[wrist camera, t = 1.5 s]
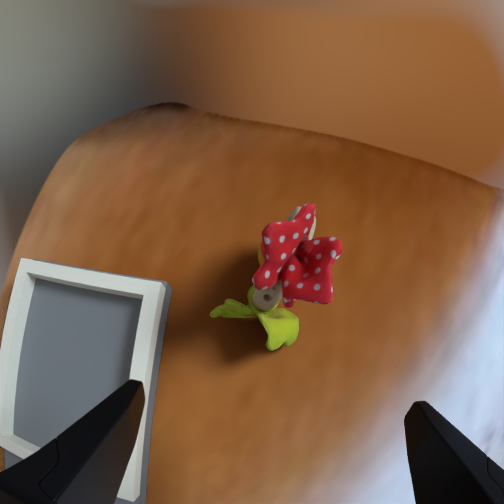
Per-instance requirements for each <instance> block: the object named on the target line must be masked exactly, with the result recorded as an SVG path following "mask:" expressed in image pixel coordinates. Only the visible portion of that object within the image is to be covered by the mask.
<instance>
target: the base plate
mask: <svg viewBox="0 0 504 504" xmlns="http://www.w3.org/2000/svg"><path fill="white" fill-rule="evenodd" d="M171 294H172V288H171V287H170V285H169V284H168V282H166V281H159V280H153V279H146V278H140V277H134V276H127V275H121V274H115V273H109V272H103V271H97V270H91V269H86V268H80V267H74V266H69V265H63V264H58V263H53V262H47V261H42V260H37V259H33V260H30V259H25V258H21V261H20V264H19V268H18V271H17V275H16V278H15V282H14V286H13V290H12V294H11V298H10V302H9V307H8V311H7V316H6V321H5V326H4V331H3V337H2V342H1V349H0V446H1V447H3V448H4V451H5V469H7V468H9V467H11V466H13V465H14V464H16V463H18V462H20V461H21V460H23V459H25V458H27V457H28V456H30V455H31V454H33V453H35V452H36V451H38V450H39V449H40V448H42V447H43V446H45V445H46V444H47V443H49V442H50V441H51V440H53V439H54V438H56V437H57V436H58V435H59V434H61V433H62V432H63V431H64V430H66V429H67V428H68V427H70V426H71V425H72V424H73V423H75V422H76V421H77V420H79V419H80V418H81V417H82V416H84V415H85V414H86V413H87V412H89V411H90V410H91V409H92V408H94V407H95V406H96V405H98V404H99V403H100V402H101V401H103V400H104V399H105V398H106V397H108V396H109V395H110V394H111V393H113V392H114V391H115V390H116V389H118V388H119V387H120V386H121V385H123V384H124V383H125V382H126V381H128V380H129V379H134V380H139V381H142V383H143V386H144V392H145V406H144V410H143V414H142V418H141V422H140V427H139V431H138V436H137V440H136V444H135V447H134V449H133V452H132V455H131V458H130V460H129V463H128V466H127V469H126V472H125V474H124V477H123V480H122V483H121V486H120V488H119V491H118V494H117V497H116V500H115V503H114V504H146V491H147V476H148V463H149V452H150V441H151V431H152V422H153V413H154V405H155V396H156V389H157V381H158V374H159V367H160V360H161V353H162V347H163V340H164V334H165V328H166V322H167V316H168V310H169V305H170V299H171Z"/></svg>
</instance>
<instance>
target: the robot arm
mask: <svg viewBox="0 0 504 504" xmlns="http://www.w3.org/2000/svg"><path fill="white" fill-rule="evenodd" d="M144 406H145V392H144V386H143V383H142V381H139V380H134V379H129V380H128V381H126V382H125V383H124V384H123V385H121V386H120V387H119V388H118V389H116V390H115V391H114V392H113V393H111V394H110V395H109V396H108V397H106V398H105V399H104V400H103V401H101V402H100V403H99V404H98V405H96V406H95V407H94V408H92V409H91V410H90V411H89V412H87V413H86V414H85V415H84V416H82V417H81V418H80V419H79V420H77V421H76V422H75V423H73V424H72V425H71V426H70V427H68V428H67V429H66V430H64V431H63V432H62V433H61V434H59V435H58V436H57V437H56V438H54V439H53V440H51V441H50V442H49V443H47V444H46V445H45V446H43V447H42V448H40V449H39V450H38V451H36V452H35V453H33V454H31V455H30V456H28V457H27V458H25V459H23V460H21V461H20V462H18V463H16V464H14V465H13V466H11V467H9V468H7V469H5V470H3V471H2V472H0V504H114V503H115V500H116V497H117V494H118V491H119V488H120V486H121V483H122V480H123V477H124V474H125V472H126V469H127V466H128V463H129V460H130V458H131V455H132V452H133V449H134V447H135V444H136V440H137V436H138V431H139V427H140V422H141V418H142V414H143V410H144ZM404 426H405V435H406V446H407V456H408V462H409V467H410V473H411V478H412V484H413V490H414V496H415V502H416V504H504V470H503V469H502V468H501V467H500V466H498V465H497V464H496V463H495V462H494V461H493V460H492V459H490V458H489V457H487V455H486V454H485V453H484V452H483V451H481V450H480V449H479V448H478V447H477V446H476V445H475V444H474V443H472V442H471V441H470V440H469V439H468V438H467V437H466V436H465V435H463V434H462V433H461V432H460V431H459V430H458V429H457V428H456V427H454V426H453V425H452V424H451V423H450V422H449V421H448V420H447V419H445V418H444V417H443V416H442V415H441V414H440V413H439V412H438V411H436V410H435V409H434V408H433V407H432V406H431V405H430V404H429V403H427V402H426V401H416V402H414V403H413V405H412V406H411V408H410V409H409V411H408V412H407V414H406V416H405V418H404Z"/></svg>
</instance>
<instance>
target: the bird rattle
mask: <svg viewBox="0 0 504 504" xmlns="http://www.w3.org/2000/svg"><path fill="white" fill-rule="evenodd" d="M315 226H316V218H315V204H313V203H309V204H305V205H304V206H303V207H296V208H295V209H294V210H293V211H292V212H291V214H290V215H289V217H288V219H287V220H286V221H280V222H271V223H269V224H268V225H267V226H266V227H265V228H264V229H263V231H262V239H263V241H262V242H261V244H260V246H259V250H258V261H259V264H260V267H259V268H258V270H257V271H256V272H255V274H254V275H253V277H252V282H253V286H252V287H251V288H250V289H249V291H248V294H247V299H248V305H246V306H245V305H244V304H242V303H240V302H238V301H236V300H234V299H227V300H225V304H223V305H220V306H217V307H216V308H215V309H214V310H213V311H212V312H211V313H210V316H211V317H213V318H215V317H219V316H222V317H224V318H247V317H252V316H256V315H257V316H258V318H259V320H260V321H261V323H262V325H263V327H264V328H265V330H266V332H267V334H268V340H267V342H266V347H267V348H268V350H270V351H273V350H276V349H278V348H279V347H280V346H281V345H282V344H284V345H285V346H290V345H291V344H292V343H293V342H294V341H295V340H296V338H297V335H298V331H299V324H298V322H299V320H298V318H297V317H296V316H295V315H294V314H292V313H291V312H289V311H287V310H286V309H283V308H281V309H280V308H279V309H275V308H276V307H277V305H278V303H279V301H280V300H281V298H282V297H283V303H284V306H285V307H292V306H293V304H294V302H295V299H298V300H303V301H308V302H313V303H317V304H328V303H330V302H331V301H332V299H333V288H332V275H331V267H332V264H333V263H334V261H335V260H336V259H338V257H339V256H340V255H341V253H342V250H343V247H342V243H341V241H340V240H339V239H337V238H335V237H320V238H315V239H312V237H313V234H314V230H315Z"/></svg>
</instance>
